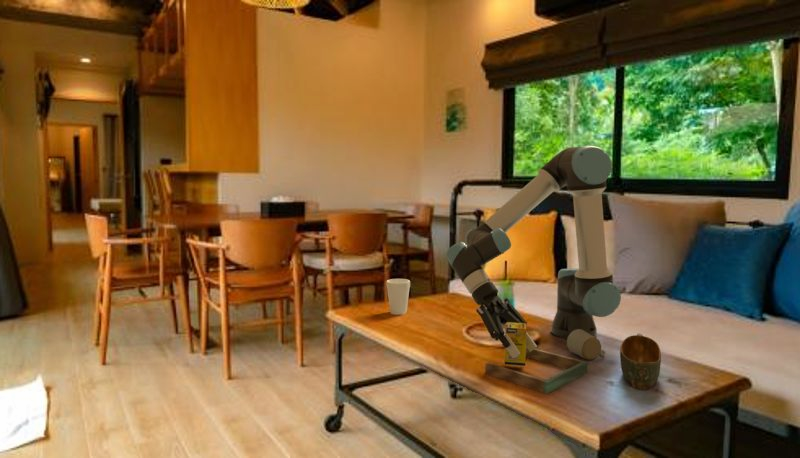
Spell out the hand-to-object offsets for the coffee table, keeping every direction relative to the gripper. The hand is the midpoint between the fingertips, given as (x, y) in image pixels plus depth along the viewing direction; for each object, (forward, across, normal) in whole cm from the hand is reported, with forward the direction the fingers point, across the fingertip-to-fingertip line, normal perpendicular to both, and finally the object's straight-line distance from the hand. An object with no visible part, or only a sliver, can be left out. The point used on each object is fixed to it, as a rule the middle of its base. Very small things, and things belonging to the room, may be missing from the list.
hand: (525, 352), depth 156 cm
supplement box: (0, 0, -5) cm, 5 cm away
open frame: (+6, -1, -2) cm, 6 cm away
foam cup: (-46, -20, -55) cm, 75 cm away
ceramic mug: (+9, -25, +1) cm, 26 cm away
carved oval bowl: (+22, -17, +14) cm, 31 cm away
